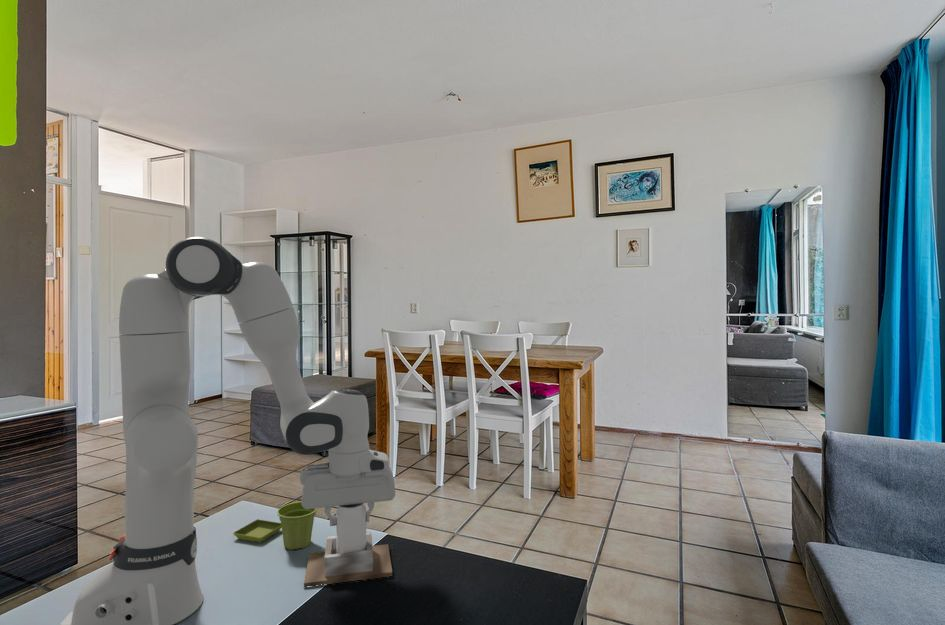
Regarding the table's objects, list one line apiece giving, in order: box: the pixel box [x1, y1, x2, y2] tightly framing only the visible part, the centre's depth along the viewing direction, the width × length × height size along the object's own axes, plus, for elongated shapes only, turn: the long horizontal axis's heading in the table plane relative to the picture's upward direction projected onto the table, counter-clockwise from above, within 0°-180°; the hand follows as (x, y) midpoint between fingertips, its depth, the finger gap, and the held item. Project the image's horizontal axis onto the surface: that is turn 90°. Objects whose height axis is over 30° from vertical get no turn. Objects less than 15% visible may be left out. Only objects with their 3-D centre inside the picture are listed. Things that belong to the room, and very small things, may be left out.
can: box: [335, 503, 367, 554], centre depth 109 cm, size 6×6×12 cm
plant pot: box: [276, 501, 319, 550], centre depth 119 cm, size 9×9×9 cm
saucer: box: [232, 519, 282, 543], centre depth 124 cm, size 9×9×2 cm
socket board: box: [303, 531, 393, 588], centre depth 109 cm, size 18×13×6 cm
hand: (349, 523), depth 109 cm, fingers closed on can, 6 cm apart
